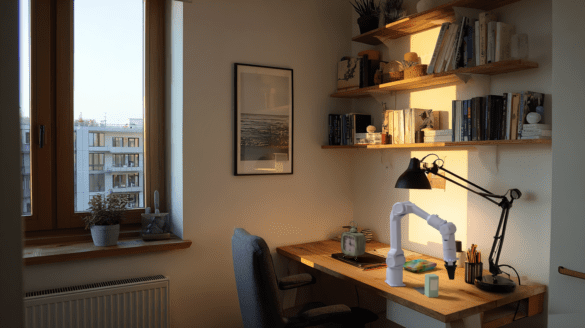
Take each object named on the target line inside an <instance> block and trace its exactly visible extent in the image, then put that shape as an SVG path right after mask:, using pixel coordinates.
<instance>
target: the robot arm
mask: <svg viewBox="0 0 585 328" xmlns="http://www.w3.org/2000/svg"><path fill="white" fill-rule="evenodd" d="M391 208H392V209H391V211H390V214H389V230H390V231H389V232H390V235H389V239H390V240H389V241H390V242H389V243H390V248H389V250H388V251H387V255H386V259H385V264H386V266H387V267H386V270H385V272H386V273H385V280H384V282H385V283H386V284H387V285H389V286H390V287H391V288H392V287H393V288H394V287H406V284H405V283H403V282H404V281H403V277H404V276H403V274H404V272H403V271H404V268H403V265H404V264H405V262H407V259H406V256H405V252H404V250H403V248H402V226H401V225H402V223H401V221H402V218H404V217H405V216H406V215H408V214H413V215H416V216H417V217H419V218H421V219H422V220H425V221H426V222H427V225H428V226H430V227H432V228H434V229H436V230H437V231H438V232H439V233H440V235H441V239H442V240H441V241H442V253H443V254H442V255H443V262H444V264H443V267H444V268H445V270H446V273H447V276H448V280H450V281H454V280H455V277H456V276H455V275H456V269H457V267H458V264H457V261H459V260H460V257H457V247H456V245H457V244H456V233H457V226H456V224H454V222H452V221H448V220H446V219H443V218H441V217H440V216H439V215H438V213H437V214H434V213H433V214H430V213H428V212H427V211H425V210H423V209H422V208H421V207H420V206H418V205H417V204H416V203H413V202H412V201H410V200H406V201H397V202H395V203H394V204H393V205H392V207H391Z"/></svg>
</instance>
